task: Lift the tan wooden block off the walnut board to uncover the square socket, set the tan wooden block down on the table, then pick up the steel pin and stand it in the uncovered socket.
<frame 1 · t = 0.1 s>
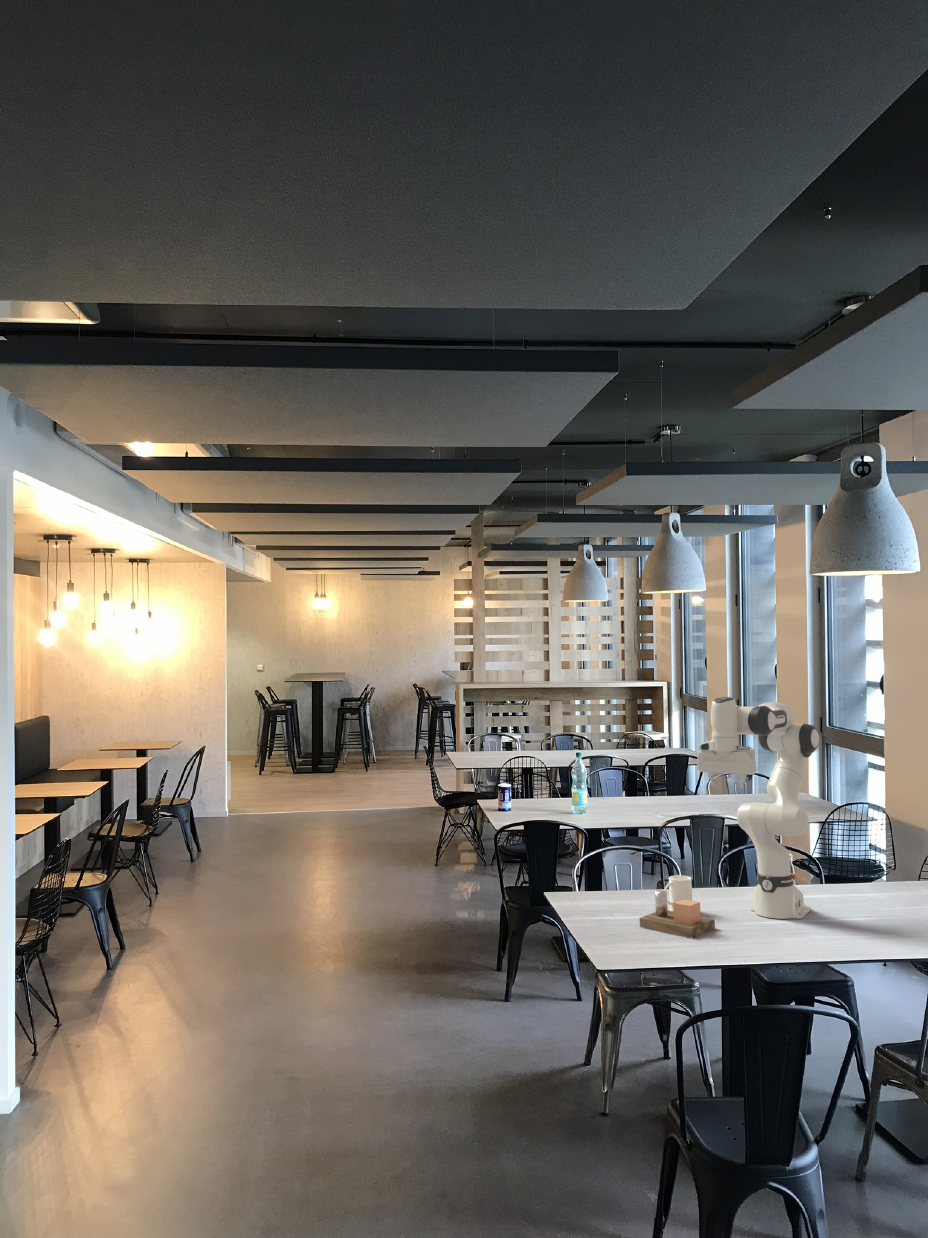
hand: (727, 786, 287), 48 cm above the table, tool pointing down, fingers open, 8 cm apart
mug: (677, 912, 310), on the table
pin: (661, 915, 295), point 3 cm above the table, touching board
board: (677, 927, 290), on the table
tan wooden block: (687, 920, 288), point 3 cm above the table, touching board
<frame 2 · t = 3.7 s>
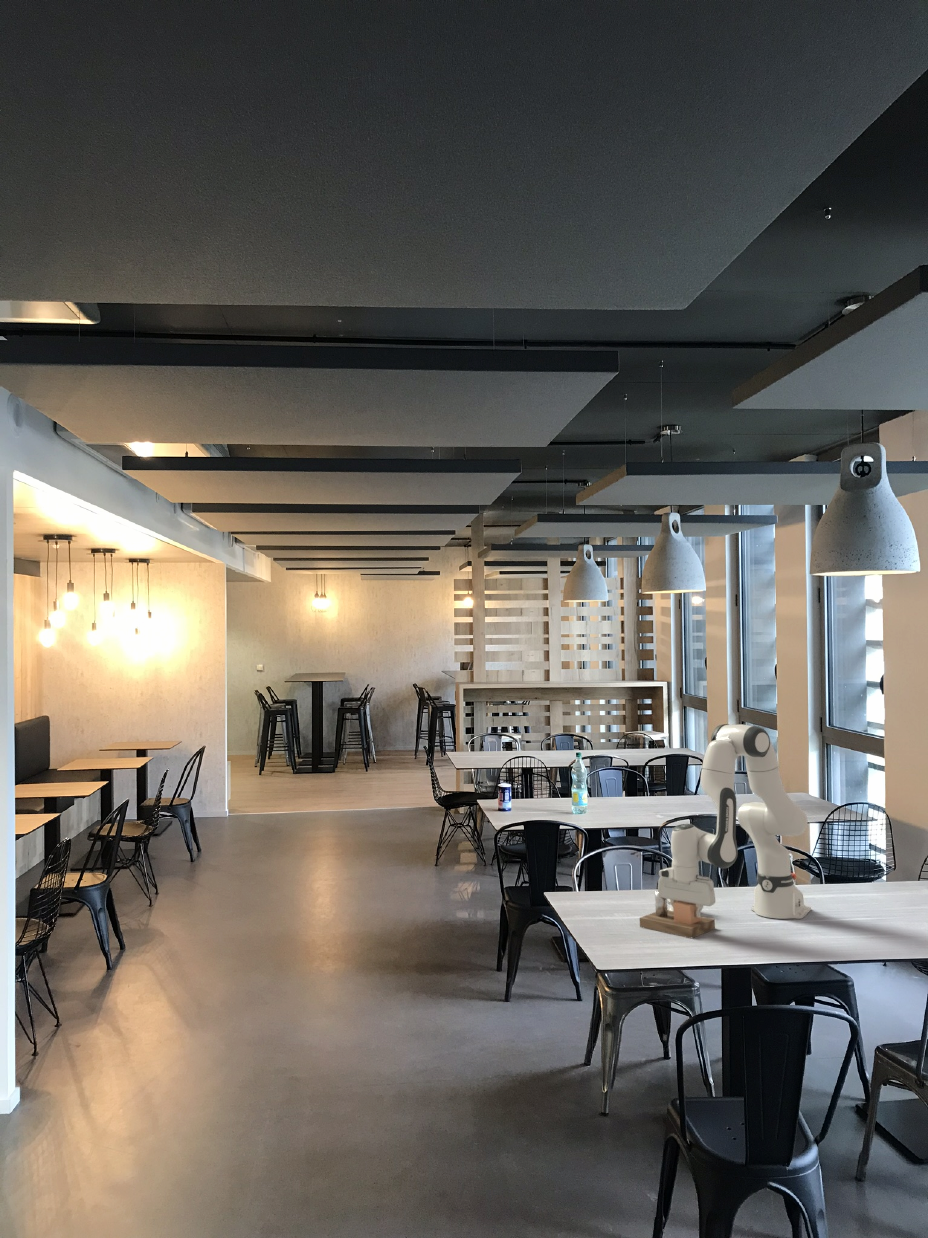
hand: (687, 915, 288), 5 cm above the table, tool pointing down, fingers closed on tan wooden block, 6 cm apart
tan wooden block: (687, 920, 288), point 3 cm above the table, touching board, gripper
everything else where it was.
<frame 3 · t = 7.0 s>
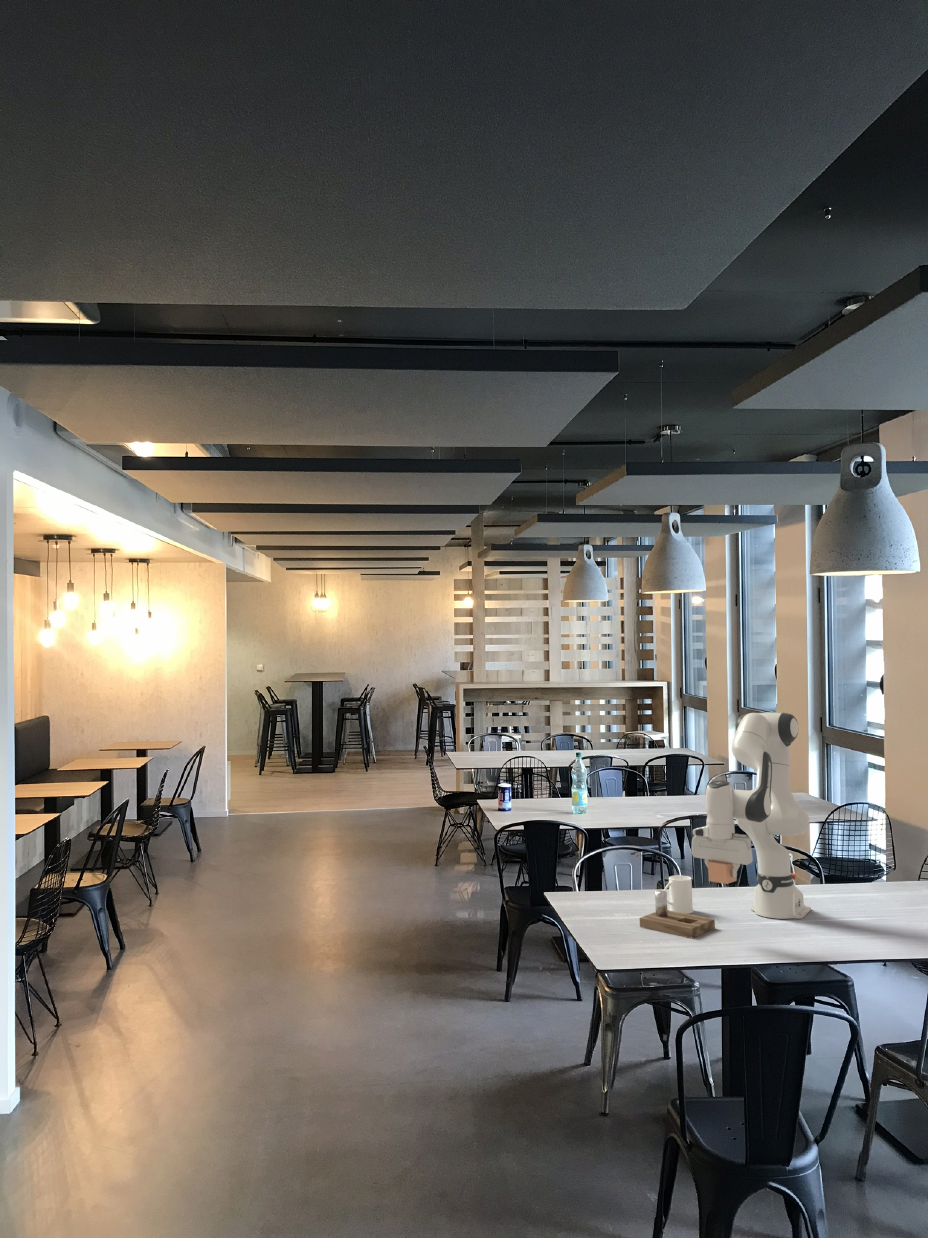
hand: (722, 875, 277), 21 cm above the table, tool pointing down, fingers closed on tan wooden block, 6 cm apart
tan wooden block: (722, 880, 277), point 19 cm above the table, touching gripper
everything else where it was.
when the fingers open (3 cm above the table, at t = 10.6 s): tan wooden block drops 1 cm, on the table.
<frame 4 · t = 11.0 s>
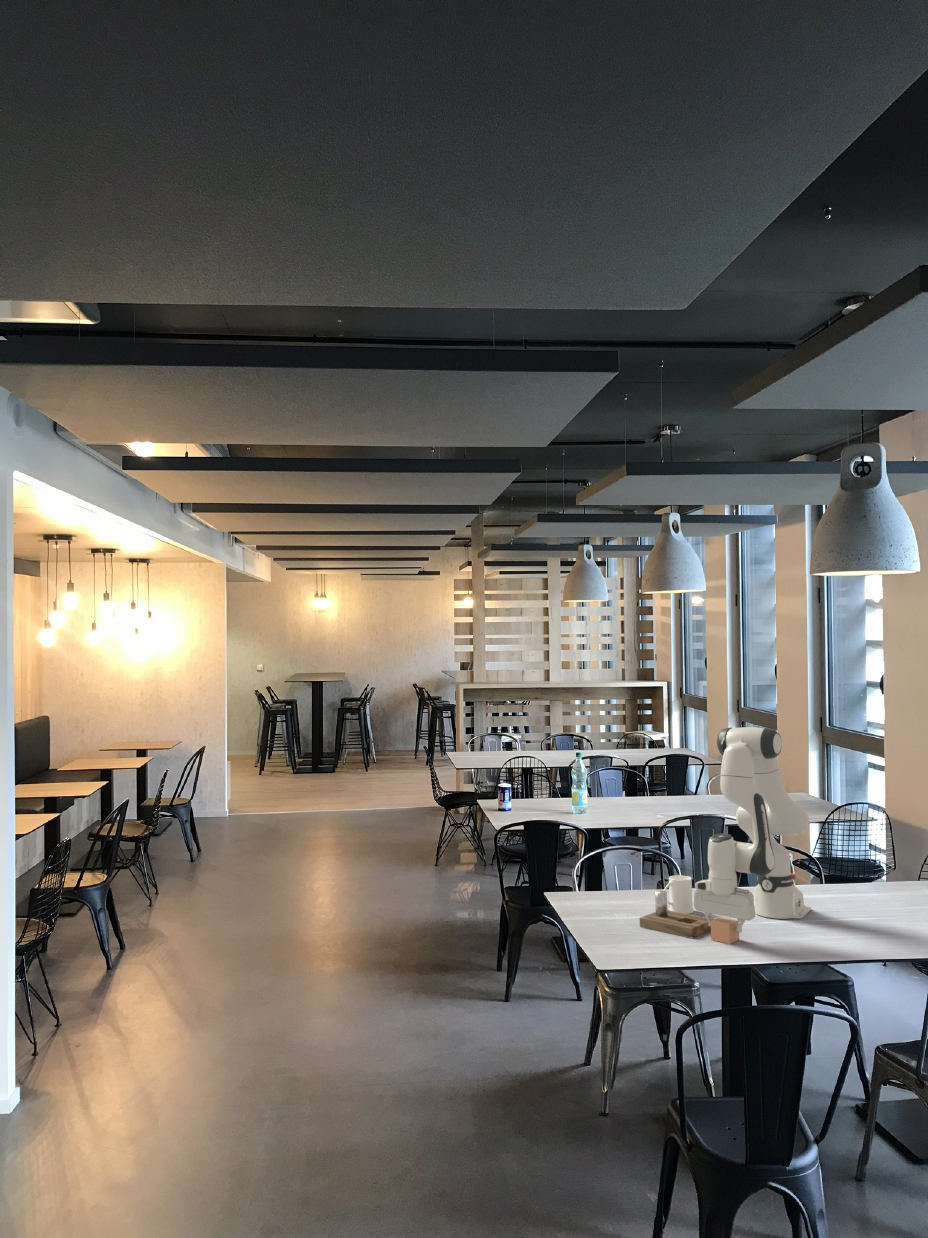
hand: (725, 929, 275), 3 cm above the table, tool pointing down, fingers open, 8 cm apart
tan wooden block: (725, 940, 275), on the table
everything else where it was.
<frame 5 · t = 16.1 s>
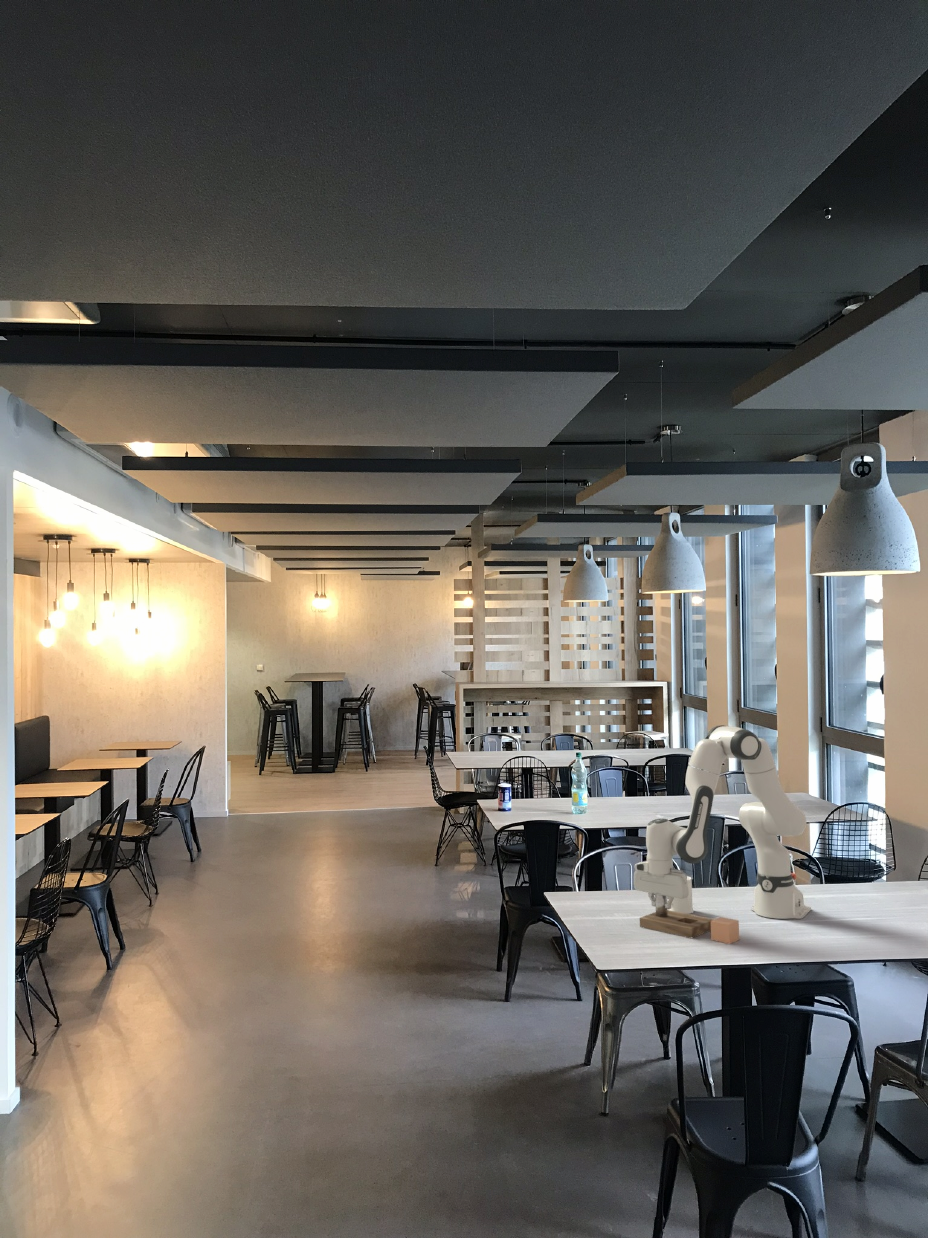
hand: (661, 907, 295), 6 cm above the table, tool pointing down, fingers closed on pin, 4 cm apart
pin: (661, 915, 295), point 3 cm above the table, touching board, gripper
everything else where it was.
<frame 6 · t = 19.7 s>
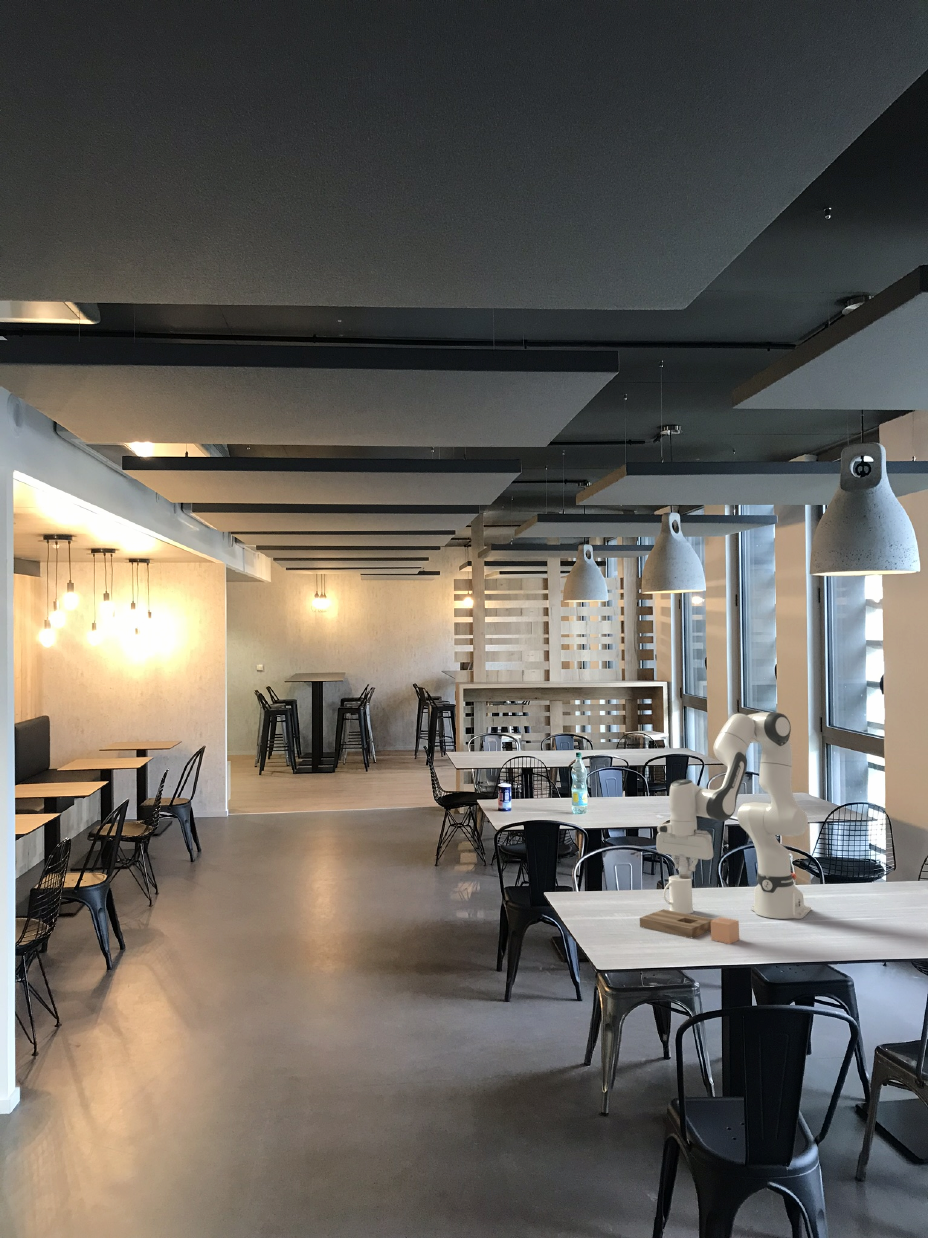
hand: (685, 869, 289), 20 cm above the table, tool pointing down, fingers closed on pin, 4 cm apart
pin: (685, 878, 289), point 17 cm above the table, touching gripper
everything else where it was.
when the fingers open (5 cm above the table, at t = 23.3 s): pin drops 2 cm, resting on board.
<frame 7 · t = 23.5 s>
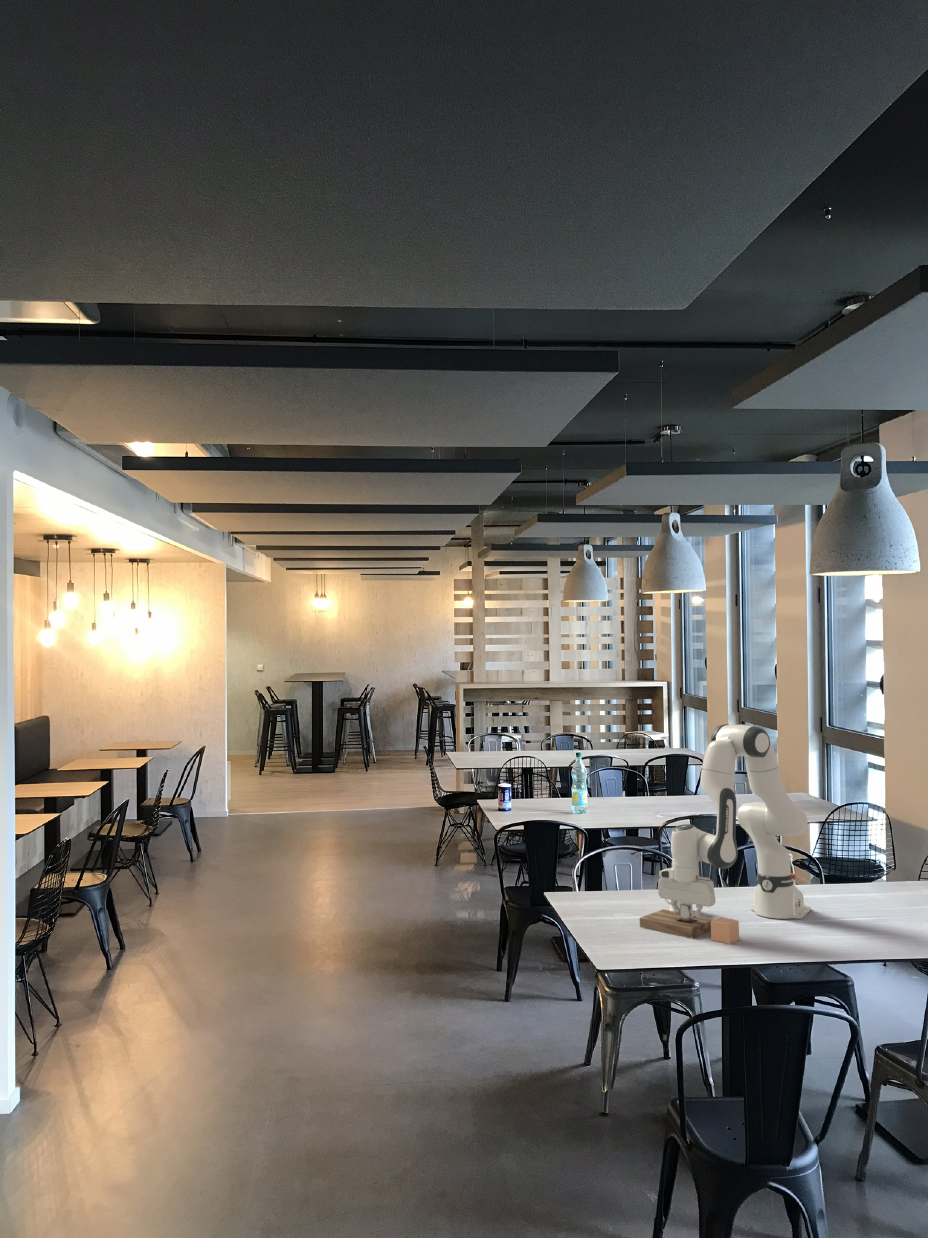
hand: (687, 915, 288), 5 cm above the table, tool pointing down, fingers open, 6 cm apart
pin: (687, 928, 287), resting on board
everything else where it was.
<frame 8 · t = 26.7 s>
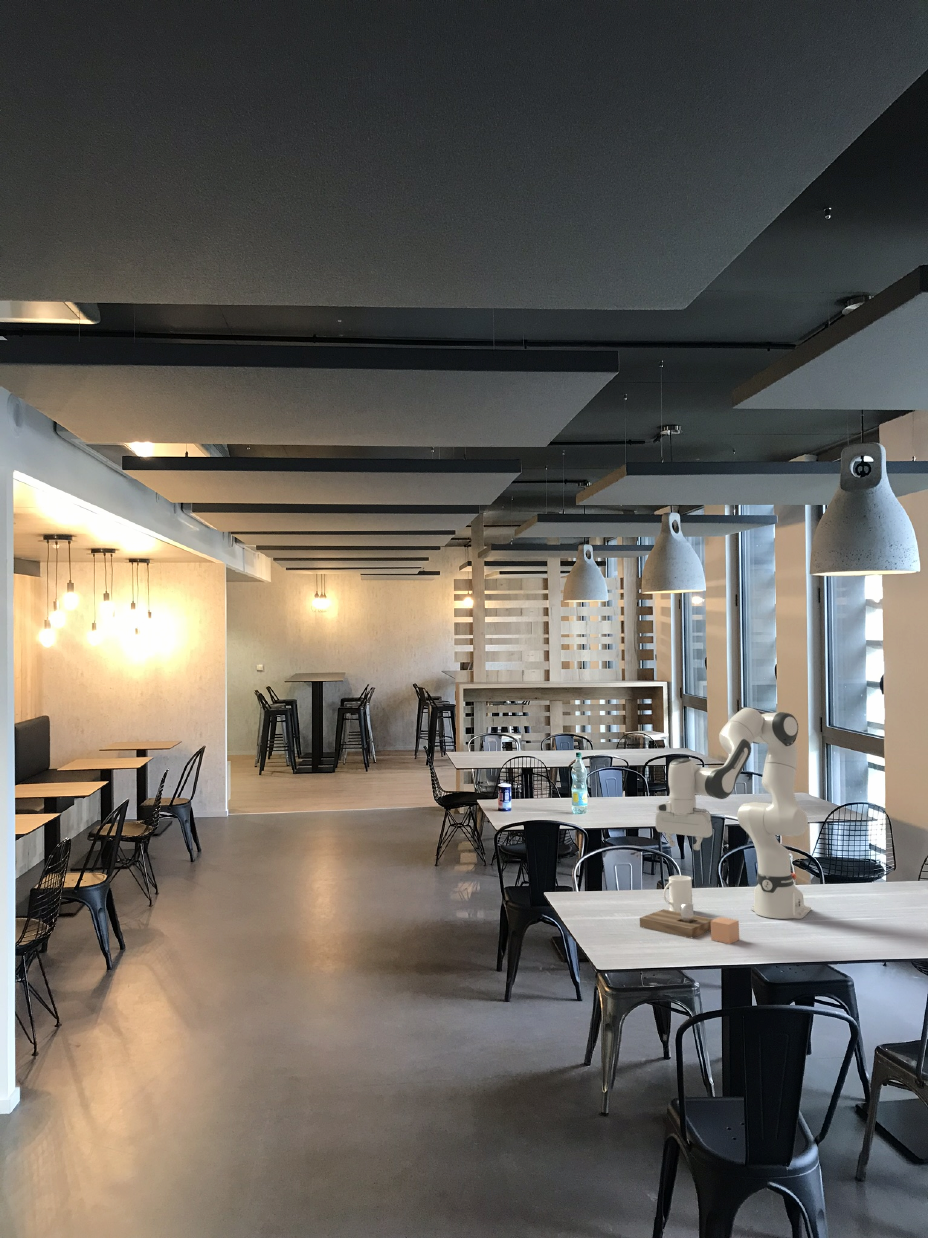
hand: (684, 848, 289), 27 cm above the table, tool pointing down, fingers open, 8 cm apart
nothing on the table moved.
at the end: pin 0.1 cm from the target spot on the board, point 0.3 cm above the board's base; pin tilted 1°; tan wooden block moved 15.4 cm from its start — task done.
